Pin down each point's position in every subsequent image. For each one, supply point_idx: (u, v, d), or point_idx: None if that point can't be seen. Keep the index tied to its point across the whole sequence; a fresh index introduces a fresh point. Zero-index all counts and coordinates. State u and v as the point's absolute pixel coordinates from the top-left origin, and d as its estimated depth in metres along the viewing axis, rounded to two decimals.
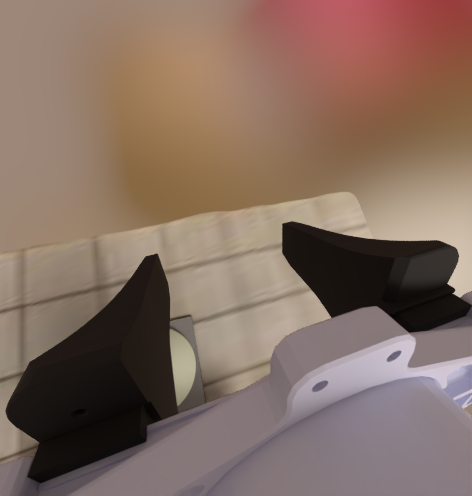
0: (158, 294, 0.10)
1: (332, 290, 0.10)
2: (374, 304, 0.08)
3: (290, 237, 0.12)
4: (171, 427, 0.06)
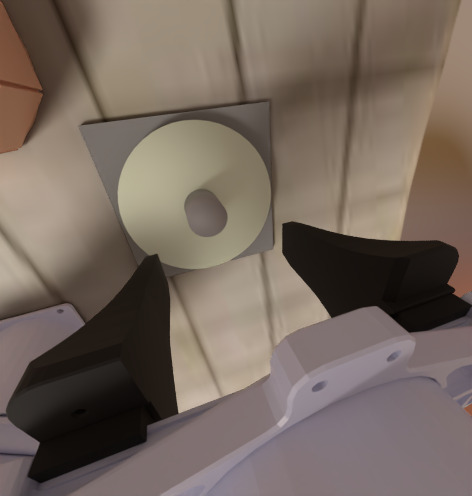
0: (158, 294, 0.10)
1: (332, 290, 0.10)
2: (374, 304, 0.08)
3: (290, 237, 0.12)
4: (171, 427, 0.06)
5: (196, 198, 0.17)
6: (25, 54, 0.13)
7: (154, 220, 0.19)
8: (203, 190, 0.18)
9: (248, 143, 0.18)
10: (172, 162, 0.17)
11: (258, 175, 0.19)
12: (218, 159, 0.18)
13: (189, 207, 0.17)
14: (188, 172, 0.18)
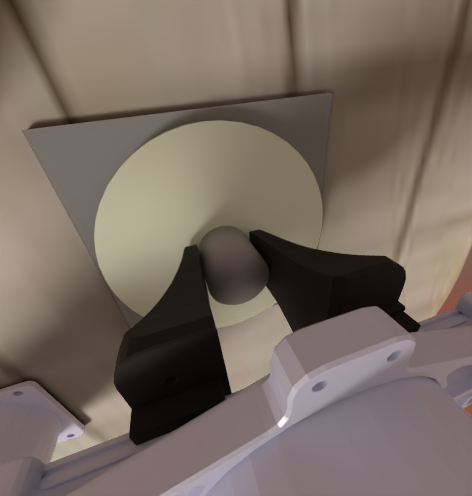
0: (204, 282, 0.10)
1: (290, 303, 0.09)
2: None
3: (255, 246, 0.12)
4: None
5: (220, 246, 0.10)
6: None
7: (153, 272, 0.12)
8: (228, 229, 0.12)
9: (299, 157, 0.12)
10: (182, 188, 0.11)
11: (307, 204, 0.13)
12: (253, 182, 0.11)
13: (209, 262, 0.10)
14: (205, 202, 0.11)
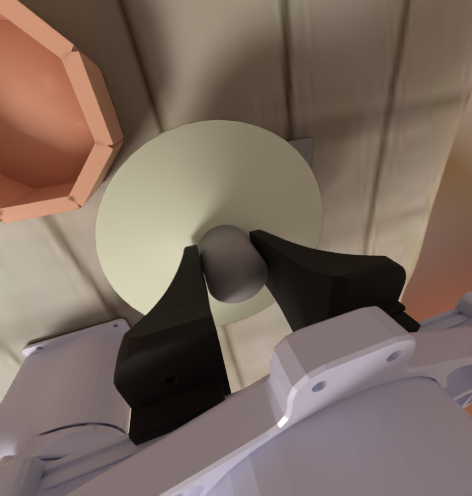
0: (203, 282, 0.10)
1: (290, 303, 0.09)
2: None
3: (255, 246, 0.12)
4: None
5: (219, 245, 0.11)
6: (114, 110, 0.15)
7: (153, 271, 0.12)
8: (228, 228, 0.12)
9: (298, 156, 0.12)
10: (181, 188, 0.11)
11: (307, 203, 0.13)
12: (252, 181, 0.11)
13: (209, 261, 0.10)
14: (205, 202, 0.11)
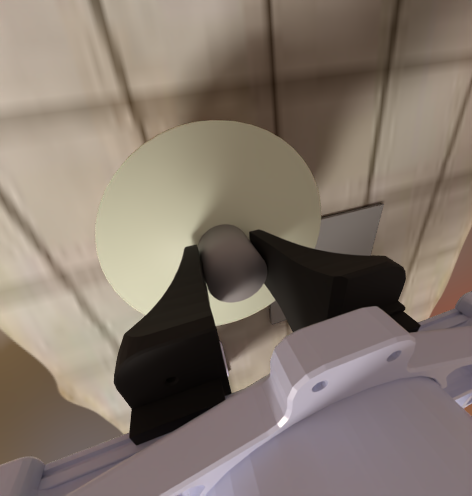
0: (204, 281, 0.10)
1: (290, 303, 0.09)
2: None
3: (255, 246, 0.12)
4: None
5: (218, 245, 0.11)
6: None
7: (154, 272, 0.13)
8: (226, 227, 0.12)
9: (294, 153, 0.11)
10: (178, 189, 0.11)
11: (304, 199, 0.13)
12: (248, 180, 0.11)
13: (208, 261, 0.10)
14: (202, 202, 0.11)
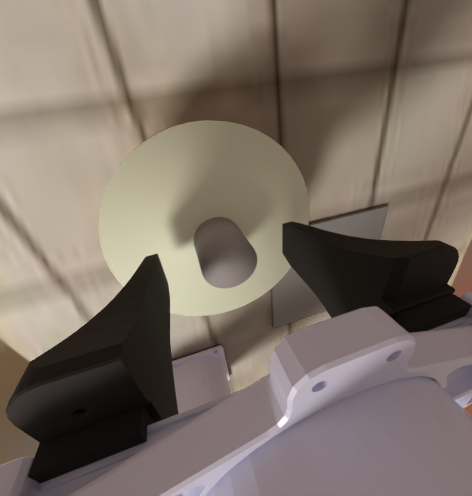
0: (158, 294, 0.10)
1: (332, 290, 0.10)
2: (374, 304, 0.08)
3: (290, 237, 0.12)
4: (171, 427, 0.06)
5: (212, 235, 0.12)
6: None
7: None
8: (220, 219, 0.13)
9: (282, 151, 0.12)
10: (175, 183, 0.12)
11: (293, 194, 0.14)
12: (240, 175, 0.12)
13: (202, 249, 0.11)
14: (197, 196, 0.12)
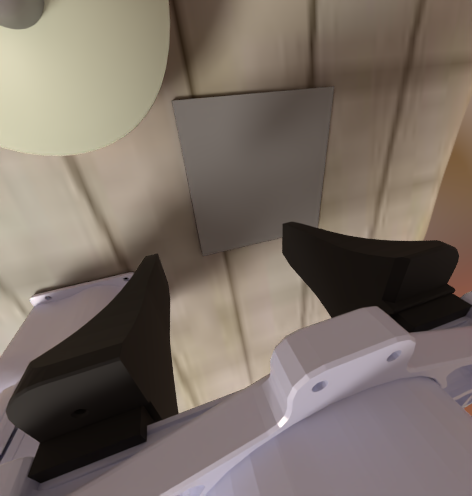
0: (158, 294, 0.10)
1: (332, 290, 0.10)
2: (374, 304, 0.08)
3: (290, 237, 0.12)
4: (171, 427, 0.06)
5: None
6: None
7: None
8: None
9: None
10: None
11: None
12: None
13: None
14: None
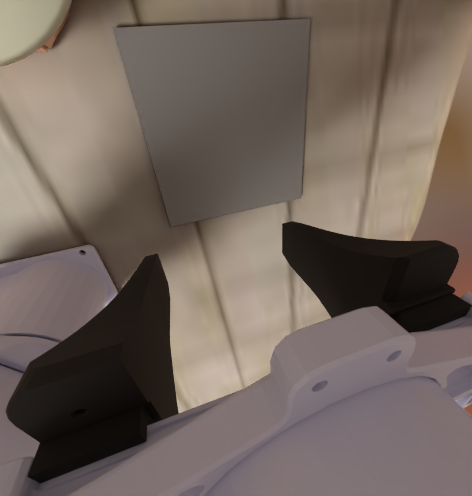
0: (158, 294, 0.10)
1: (332, 290, 0.10)
2: (374, 304, 0.08)
3: (290, 237, 0.12)
4: (171, 427, 0.06)
5: None
6: None
7: None
8: None
9: None
10: None
11: None
12: None
13: None
14: None
